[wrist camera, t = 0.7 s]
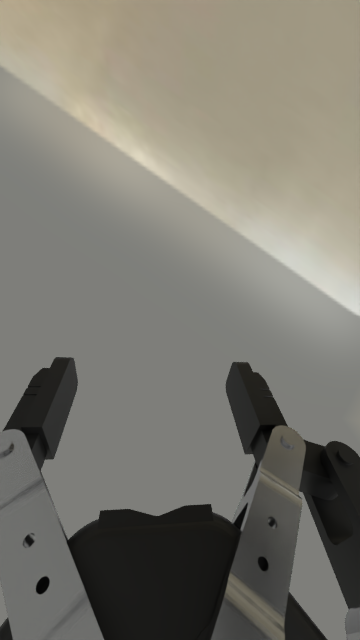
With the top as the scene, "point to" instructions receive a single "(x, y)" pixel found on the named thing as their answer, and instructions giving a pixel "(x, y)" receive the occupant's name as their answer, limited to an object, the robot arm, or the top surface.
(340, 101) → the top surface
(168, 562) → the robot arm
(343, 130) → the top surface
